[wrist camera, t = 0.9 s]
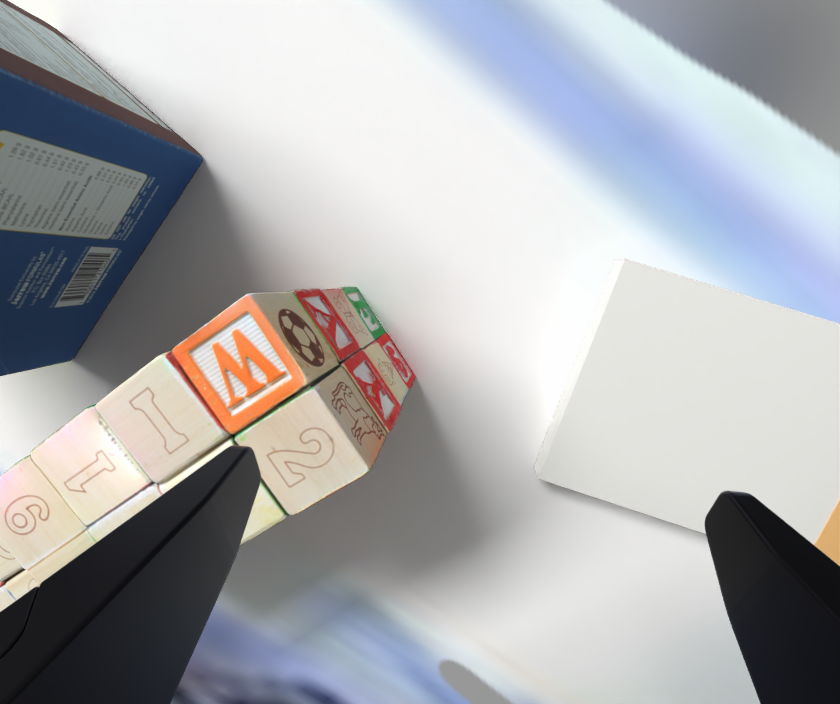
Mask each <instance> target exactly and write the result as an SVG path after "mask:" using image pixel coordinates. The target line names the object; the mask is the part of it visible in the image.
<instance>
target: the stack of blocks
mask: <svg viewBox="0 0 840 704" xmlns="http://www.w3.org/2000/svg"><path fill="white" fill-rule="evenodd" d="M414 380H415V375H414V373H413V372H412V370H411V369H410V367H409V366H408V364H407V362H406V361H405V359H404V358H403V356H402V355H401V353H400V352H399V350H398V349H397V347H396V346H395V344H394V343H393V341H392V340H391V338H390V337H389V335H388V334H387V333H386V332H385V331H384V329H383V328H382V326H381V324H380V323H379V321H378V320H377V318H376V317H375V315H374V314H373V312H372V310H371V309H370V307H369V306H368V304H367V303H366V301H365V300H364V298H363V297H362V295H361V293H360V292H359V290H358V289H357V287H340V288H338V289H326V290H320V289H317V288H316V289H301V290H292V291H291V292H264V293H249V294H246V295H245V296H243V297H242V298H240V299H239V300H237V301H236V302H235V303H233V304H232V305H231V306H229V307H228V308H227V309H225V310H224V311H223V312H221V313H220V314H219V315H217V316H216V317H215V318H213V319H212V320H211V321H209V322H208V323H207V324H205V325H204V326H202V327H201V328H200V329H198V330H197V331H195V332H194V333H193V334H192V335H190V336H189V337H187V338H186V339H185V340H183V341H182V342H181V343H179V344H178V345H176V346H175V347H174V348H173V350H172V351H169V352H166V353H163V354H161V355H159V356H157V357H156V358H155V359H153V360H152V361H151V362H150V363H148V364H147V365H146V366H144V367H143V368H142V369H140V370H139V371H138V372H137V373H135V374H134V375H133V376H131V377H130V378H129V379H128V380H126V381H125V382H124V383H122V384H121V385H120V386H118V387H117V388H116V389H114V390H113V391H112V392H111V393H109V394H108V395H107V396H106V397H104V398H103V399H102V400H100V401H99V402H98V403H97V404H95V405H92V406H90V407H88V408H86V409H84V410H83V411H82V412H81V413H79V414H78V415H76V416H75V417H74V418H73V419H72V420H70V421H69V422H68V423H67V424H65V425H64V426H63V427H61V428H60V429H59V430H57V431H56V432H55V433H53V434H52V435H51V436H50V437H48V438H47V439H46V440H44V441H43V442H42V443H41V444H39V445H38V446H37V447H35V448H34V449H33V450H32V451H31V454H30V455H29V456H27V457H25V458H24V459H22V460H20V461H19V462H18V463H16V464H15V465H14V466H12V467H11V468H10V469H9V470H7V471H6V472H5V473H3V474H2V475H1V476H0V612H1V611H2V610H4V609H5V608H6V607H8V606H9V605H11V604H12V603H13V602H15V601H16V600H18V599H19V598H20V597H22V596H23V595H24V594H26V593H27V592H29V591H30V590H31V589H33V588H34V587H36V586H40V584H41V583H42V582H43V581H44V580H45V579H47V578H48V577H50V576H51V575H52V574H54V573H55V572H56V571H58V570H59V569H61V568H62V567H63V566H65V565H66V564H67V563H69V562H70V561H72V560H73V559H74V558H76V557H77V556H79V555H80V554H81V553H83V552H84V551H85V550H87V549H88V548H90V547H91V546H92V545H94V544H95V543H96V542H98V541H99V540H101V539H102V538H103V537H105V536H106V535H107V534H109V533H110V532H112V531H113V530H114V529H116V528H117V527H119V526H120V525H121V524H123V523H124V522H125V521H127V520H128V519H130V518H131V517H132V516H134V515H135V514H136V513H138V512H139V511H141V510H142V509H143V508H145V507H146V506H148V505H149V504H150V503H152V502H153V501H154V500H156V499H157V498H159V497H160V496H161V495H163V494H164V493H165V492H167V491H168V490H170V489H171V488H172V487H174V486H175V485H177V484H178V483H179V482H181V481H182V480H183V479H185V478H186V477H188V476H189V475H190V474H192V473H193V472H194V471H196V470H197V469H199V468H200V467H201V466H203V465H204V464H205V463H207V462H208V461H210V460H211V459H212V458H214V457H215V456H217V455H218V454H219V453H221V452H222V451H223V450H225V449H226V448H228V447H230V446H233V445H238V446H249V447H251V448H252V449H253V450H254V453H255V456H256V459H257V463H258V466H259V469H260V473H261V481H260V486H259V489H258V492H257V495H256V498H255V501H254V504H253V507H252V510H251V513H250V516H249V519H248V522H247V525H246V528H245V531H244V534H243V537H242V540H241V543H240V546H241V545H242V544H244V543H246V542H247V541H249V540H251V539H252V538H254V537H256V536H257V535H259V534H261V533H263V532H264V531H266V530H268V529H269V528H271V527H273V526H275V525H276V524H278V523H280V522H281V521H283V520H284V519H285V518H286V517H287V516H288V515H295V514H298V513H300V512H301V511H303V510H305V509H306V508H308V507H310V506H312V505H313V504H315V503H317V502H319V501H320V500H322V499H324V498H326V497H327V496H329V495H331V494H333V493H334V492H336V491H338V490H340V489H342V488H343V487H345V486H347V485H348V484H350V483H352V482H354V481H355V480H357V479H359V478H361V477H362V476H364V475H365V474H366V473H367V472H369V471H370V469H371V468H372V466H373V464H374V462H375V460H376V458H377V455H378V453H379V451H380V449H381V447H382V445H383V442H384V440H385V438H386V435H387V434H388V433H389V432H390V431H391V430H392V428H393V426H394V424H395V422H396V420H397V418H398V416H399V414H400V411H401V406H402V404H403V401H404V399H405V397H406V395H407V393H408V391H409V390H410V388H411V386H412V383H413V382H414Z"/></svg>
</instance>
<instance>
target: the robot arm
mask: <svg viewBox="0 0 840 704" xmlns="http://www.w3.org/2000/svg"><path fill="white" fill-rule="evenodd" d="M260 481H261V473H260V469H259V466H258V463H257V459H256V456H255V453H254V450H253V449H252V448H251V447H249V446H238V445H233V446H230V447H228V448H226V449H225V450H223V451H222V452H221V453H219V454H218V455H217V456H215V457H214V458H212V459H211V460H210V461H208V462H207V463H205V464H204V465H203V466H201V467H200V468H199V469H197V470H196V471H194V472H193V473H192V474H190V475H189V476H188V477H186V478H185V479H183V480H182V481H181V482H179V483H178V484H177V485H175V486H174V487H172V488H171V489H170V490H168V491H167V492H165V493H164V494H163V495H161V496H160V497H159V498H157V499H156V500H154V501H153V502H152V503H150V504H149V505H148V506H146V507H145V508H143V509H142V510H141V511H139V512H138V513H136V514H135V515H134V516H132V517H131V518H130V519H128V520H127V521H125V522H124V523H123V524H121V525H120V526H119V527H117V528H116V529H114V530H113V531H112V532H110V533H109V534H107V535H106V536H105V537H103V538H102V539H101V540H99V541H98V542H96V543H95V544H94V545H92V546H91V547H90V548H88V549H87V550H85V551H84V552H83V553H81V554H80V555H79V556H77V557H76V558H74V559H73V560H72V561H70V562H69V563H67V564H66V565H65V566H63V567H62V568H61V569H59V570H58V571H56V572H55V573H54V574H52V575H51V576H50V577H48V578H47V579H45V580H44V581H43V582H42V583H41V584H40V586H36V587H34V588H33V589H31V590H30V591H29V592H27V593H26V594H24V595H23V596H22V597H20V598H19V599H18V600H16V601H15V602H13V603H12V604H11V605H9V606H8V607H6V608H5V609H4V610H2V611H1V612H0V704H170V703H171V701H172V698H173V696H174V694H175V692H176V689H177V687H178V685H179V683H180V681H181V678H182V676H183V674H184V672H185V669H186V667H187V665H188V663H189V660H190V658H191V656H192V654H193V652H194V649H195V647H196V645H197V643H198V640H199V638H200V636H201V634H202V632H203V629H204V627H205V625H206V623H207V620H208V618H209V616H210V614H211V611H212V609H213V607H214V605H215V603H216V600H217V598H218V596H219V594H220V591H221V589H222V587H223V585H224V582H225V580H226V578H227V576H228V574H229V571H230V569H231V567H232V564H233V562H234V560H235V557H236V555H237V552H238V549H239V546H240V543H241V540H242V537H243V534H244V531H245V528H246V525H247V522H248V519H249V516H250V513H251V510H252V507H253V504H254V501H255V498H256V495H257V492H258V489H259V486H260ZM705 531H706V535H707V539H708V543H709V547H710V551H711V554H712V558H713V562H714V566H715V570H716V573H717V577H718V581H719V585H720V589H721V593H722V596H723V600H724V604H725V607H726V610H727V614H728V617H729V620H730V622H731V625H732V628H733V631H734V634H735V636H736V639H737V642H738V644H739V647H740V650H741V652H742V655H743V658H744V660H745V663H746V666H747V668H748V671H749V674H750V676H751V679H752V682H753V684H754V687H755V690H756V692H757V695H758V698H759V700H760V703H761V704H840V566H839V565H838V564H837V563H835V562H834V561H833V560H832V559H831V558H829V557H828V556H827V555H826V554H824V553H823V552H822V551H821V550H819V549H818V548H817V547H816V546H815V545H813V544H812V543H811V542H810V541H808V540H807V539H806V538H805V537H803V536H802V535H801V534H800V533H799V532H797V531H796V530H795V529H794V528H792V527H791V526H790V525H789V524H787V523H786V522H785V521H784V520H783V519H781V518H780V517H779V516H778V515H776V514H775V513H774V512H773V511H771V510H770V509H769V508H768V507H767V506H765V505H764V504H763V503H762V502H760V501H759V500H758V499H757V498H755V497H754V496H753V495H751V494H749V493H746V492H738V491H723V492H721V493H720V494H719V496H718V497H717V499H716V501H715V502H714V504H713V505H712V507H711V509H710V510H709V512H708V513H707V515H706V518H705Z"/></svg>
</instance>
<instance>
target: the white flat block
mask: <svg viewBox="0 0 840 704" xmlns="http://www.w3.org/2000/svg"><path fill="white" fill-rule="evenodd" d="M534 468H535V471H536V474H537V476H538V479H540V480H543V481H547V482H550V483H553V484H556V485H559V486H562V487H565V488H568V489H571V490H574V491H577V492H580V493H583V494H586V495H589V496H592V497H595V498H598V499H601V500H604V501H607V502H610V503H613V504H616V505H619V506H622V507H625V508H628V509H631V510H634V511H637V512H640V513H643V514H646V515H650V516H653V517H656V518H659V519H662V520H665V521H668V522H671V523H674V524H677V525H680V526H683V527H686V528H689V529H692V530H695V531H698V532H701V533H704V534H706V531H705V518H706V515H707V513H708V512H709V510H710V509H711V507H712V505H713V504H714V502H715V501H716V499H717V497H718V496H719V494H720V493H721V492H723V491H738V492H746V493H749V494H751V495H753V496H754V497H755V498H757V499H758V500H759V501H760V502H762V503H763V504H764V505H765V506H767V507H768V508H769V509H770V510H771V511H773V512H774V513H775V514H776V515H778V516H779V517H780V518H781V519H783V520H784V521H785V522H786V523H787V524H789V525H790V526H791V527H792V528H794V529H795V530H796V531H797V532H799V533H800V534H801V535H802V536H803V537H805V538H806V539H807V540H808V541H810V542H811V543H812V544H813V545H815V546H816V547H817V548H818V549H819V550H821V551H822V552H823V553H824V554H826V555H827V556H828V557H829V558H831V559H832V560H833V561H834V562H835V563H837V564H838V565H839V566H840V324H839V323H836V322H832V321H829V320H826V319H822V318H819V317H816V316H812V315H809V314H806V313H802V312H799V311H796V310H793V309H789V308H786V307H783V306H779V305H776V304H773V303H769V302H766V301H763V300H760V299H756V298H753V297H750V296H746V295H743V294H740V293H736V292H733V291H730V290H726V289H723V288H720V287H717V286H713V285H710V284H707V283H703V282H700V281H697V280H693V279H690V278H687V277H683V276H680V275H677V274H674V273H670V272H667V271H664V270H660V269H657V268H654V267H650V266H647V265H644V264H640V263H637V262H634V261H631V260H627V259H618V260H614V262H613V265H612V267H611V270H610V273H609V275H608V278H607V280H606V283H605V285H604V288H603V291H602V293H601V296H600V298H599V301H598V303H597V306H596V309H595V311H594V314H593V316H592V319H591V321H590V324H589V326H588V329H587V332H586V334H585V337H584V339H583V342H582V344H581V347H580V350H579V352H578V355H577V357H576V360H575V362H574V365H573V368H572V370H571V373H570V375H569V378H568V380H567V383H566V386H565V388H564V391H563V393H562V396H561V398H560V401H559V404H558V406H557V409H556V411H555V414H554V416H553V419H552V422H551V424H550V427H549V429H548V432H547V434H546V437H545V440H544V442H543V445H542V447H541V450H540V452H539V455H538V457H537V460H536V463H535V465H534Z"/></svg>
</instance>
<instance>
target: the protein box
mask: <svg viewBox="0 0 840 704" xmlns="http://www.w3.org/2000/svg"><path fill="white" fill-rule="evenodd" d="M201 162H202V156H201V155H200V154H199V153H198V152H197V151H196V150H195V149H194V148H193V147H191V146H190V145H189V144H188V143H187V142H186V141H185V140H184V139H182V138H181V137H180V136H179V135H178V134H176V133H175V132H174V131H173V130H172V129H170V128H169V127H168V126H167V125H166V124H165V123H164V122H163V121H161V120H160V119H159V118H158V117H157V116H156V115H155V114H154V113H153V112H151V111H150V110H149V109H148V108H147V107H146V106H145V105H143V104H142V103H141V102H140V101H139V100H137V99H136V98H135V97H134V96H133V95H132V94H131V93H130V92H129V91H127V90H126V89H125V88H124V87H123V86H121V85H120V84H119V83H118V82H117V81H116V80H115V79H113V78H112V77H111V76H110V75H109V74H108V73H107V72H105V71H104V70H103V69H102V68H101V67H100V66H99V65H97V64H96V63H95V62H94V61H93V60H92V59H91V58H89V57H88V56H87V55H86V54H85V53H84V52H83V51H81V50H80V49H79V48H78V47H77V46H76V45H74V44H73V43H72V42H71V41H70V40H69V39H67V38H66V37H65V36H64V35H63V34H62V33H60V32H59V31H58V30H57V29H55V28H54V27H52V26H51V25H49V24H48V23H46V22H44V21H43V20H41V19H39V18H37V17H35V16H34V15H32V14H30V13H28V12H26V11H25V10H23V9H21V8H19V7H17V6H16V5H14V4H12V3H11V2H9V1H7V0H0V376H3V375H8V374H12V373H17V372H22V371H26V370H31V369H35V368H40V367H45V366H49V365H54V364H58V363H63V362H68V361H71V360H72V359H73V358H74V356H75V354H76V353H77V351H78V350H79V348H80V347H81V345H82V344H83V342H84V340H85V339H86V338H87V336H88V334H89V333H90V331H91V330H92V328H93V327H94V325H95V324H96V322H97V321H98V319H99V318H100V316H101V314H102V313H103V311H104V310H105V308H106V307H107V305H108V304H109V302H110V301H111V299H112V298H113V296H114V295H115V293H116V292H117V290H118V288H119V287H120V285H121V284H122V282H123V281H124V279H125V278H126V276H127V275H128V273H129V272H130V270H131V269H132V267H133V266H134V264H135V263H136V261H137V260H138V258H139V257H140V255H141V254H142V252H143V251H144V249H145V248H146V246H147V245H148V243H149V242H150V240H151V239H152V237H153V236H154V234H155V233H156V231H157V229H158V228H159V226H160V225H161V223H162V222H163V220H164V219H165V217H166V216H167V214H168V213H169V211H170V210H171V208H172V207H173V205H174V204H175V202H176V201H177V199H178V198H179V196H180V195H181V193H182V192H183V190H184V189H185V187H186V186H187V184H188V183H189V181H190V180H191V178H192V176H193V175H194V173H195V172H196V170H197V169H198V167H199V166H200V164H201Z"/></svg>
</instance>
